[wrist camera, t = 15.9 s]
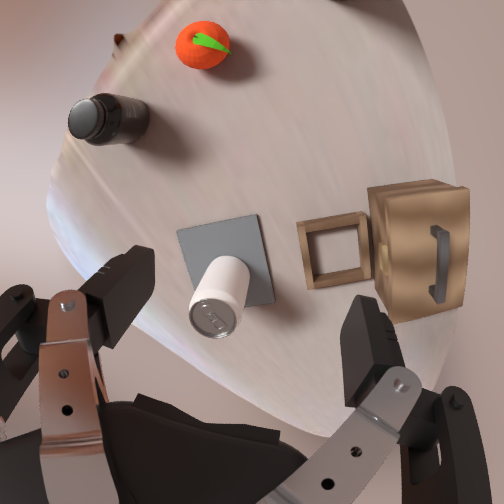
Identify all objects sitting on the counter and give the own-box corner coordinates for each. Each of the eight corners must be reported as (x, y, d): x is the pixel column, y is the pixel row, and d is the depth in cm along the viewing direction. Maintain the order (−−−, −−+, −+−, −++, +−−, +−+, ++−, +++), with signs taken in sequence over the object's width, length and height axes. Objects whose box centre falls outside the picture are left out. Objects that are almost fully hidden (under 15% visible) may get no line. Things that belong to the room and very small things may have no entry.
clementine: (249, 43, 32) (243, 25, 26) (225, 84, 35) (214, 73, 28) (199, 25, 32) (184, 7, 25) (176, 64, 34) (157, 52, 27)
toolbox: (291, 198, 40) (296, 223, 28) (434, 176, 36) (483, 193, 25) (309, 302, 46) (317, 354, 34) (435, 276, 42) (472, 317, 30)
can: (233, 246, 43) (216, 285, 31) (258, 280, 44) (251, 327, 33) (199, 268, 44) (174, 311, 33) (224, 300, 46) (209, 348, 35)
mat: (177, 230, 43) (176, 231, 42) (256, 214, 41) (256, 215, 41) (203, 310, 48) (202, 312, 47) (275, 300, 46) (275, 302, 45)
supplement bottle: (117, 96, 36) (68, 88, 25) (155, 102, 36) (113, 92, 25) (106, 138, 39) (57, 143, 27) (144, 147, 39) (99, 152, 28)
